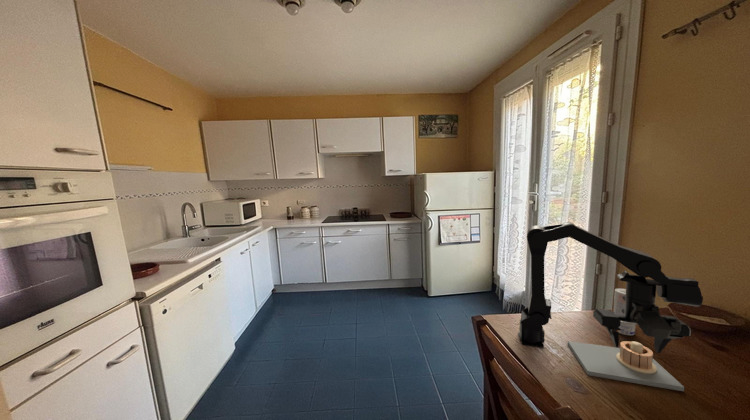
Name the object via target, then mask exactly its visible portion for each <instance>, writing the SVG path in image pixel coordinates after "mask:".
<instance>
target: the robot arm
mask: <svg viewBox="0 0 750 420" xmlns="http://www.w3.org/2000/svg"><path fill="white" fill-rule="evenodd" d="M566 238H567V239H568V238H571V239H572V240H574V241H576V242H578V243H582V244H583V245H586V246H587V247H589V248H592V249H593V250H595V251H597V252H600V253H601V254H603V255H606V256H608V257H610V258H612V259H613V260H615V261H616V262H618V263H620V264H621V265H622V266H624V268H627V270H629V271H631V272H632V273H634V274H631V273H629V272H628V271H627V270H624V271H623V272H621V273H619V274H616V277H617V279H619V281H620V282H626V283H625V285H626V286H625V289H626V296H623V300H625V309H622V313H623V314H624V316H621V315H615V314H614V313H613V312H614V311H612V310H611V309H603V308H596V309H594V310H593V311H592V312H593V314H592V317H593V318H594V319H595V320H596V321H597V322H598V323H599V324H600V325H601V326H602V327H605V328H606V330H607V331H608V334H609V336H610V339H611V341H612V344H613V347H616V348H619V345H620V338H619V337H620V335H619V334H620V333H619V332H620V331H621V329H620V328H619V326H620V325H621V323H629V324H635V325H637V326H638V327H639V328H640V329H641V332H642V333H643V334H644V335H645V336H647V337H648V338H649V337H651V338H653V341H654V343H653V345H654V350H655V352H656V354H661V353H662V352H663V350H664V349H665V348H666V346H667V345H668V344H669V343H670V342H671V341H672V340H675V339H684V337H690V336H691V334H692V333H691V332H692V329H691V328H690V326H689V324H687V323H685V322H684V321H683V320H680V319H679V318H678V317H675V316H673V315H662V314H660V309H659V307H660V306H658V305H656V295H657V296H658V298H661V299H662V300H663V302H666V303H672V304H678V305H685V306H692V307H697V308H698V307H701V306H702V304H703V301H704V297H703V295H702V292H701V291H702V290H701V288H700V286H699V281H697V280H696V279H695V278H681V277H673V276H667V275H666V274H665V273H664V272H663V271H662V265H661V262H659V261H660V260H658V259H656V258H655V257H653V256H652V255H650V254H649V253H648V252H647V253H646V252H644V251H642V250H641V251H640V250H639V249H638V250H637V249H634V248H630V247H627V246H623V245H619V244H617V243H614V242H612V241H610V240H608V239H605V238H604V237H601V236H599V235H597V234H595V233H593V232H590V231H588V230H586V229H584V228H582V227H579V226H577V225H576V224H574V223H572V222H570V221H569V222H565V223H560V224H559V223H558V224H552V225H546V226H542V225H532V226H530V227H529V229H527V235H526V241H527V244H528V248H529V253H530V256H531V258H530V259H531V263H530V264H531V265H530V266H531V271H530V272H531V273H530V274H531V294H530V296H529V302H528V305H527V307H525V308H524V309H521V314H520V319H519V332H517V334H518V338H519V340H520V343H521V344H522V345H523V346H530V347H531V346H532V347H537V348H545V345H544V343H545V330H544V327H543V326H545V325H548V324H549V321H550V320H552V319H553V318H552V301H551V299H550V298H546V296H545V256H546V252H547V251H546V250H547V248H548V243H550V242H556V241H558V240H562V239H566ZM649 278H650V279H649Z"/></svg>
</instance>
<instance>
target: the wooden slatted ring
mask: <svg viewBox="0 0 750 420" xmlns="http://www.w3.org/2000/svg"><path fill="white" fill-rule="evenodd" d="M631 342H632V341H629V340H628V341H627V340H625V341H621V342H620V343H619V345H620V346H619V348H620V358H621V359H622V361H624V362H625V363H627V364H629V365H631V366H633V367H636V368H639V369H645V370H649V369H652V360H653V359H654V358H653V357H654V352H653V351H652V350H651V349H650V348H649V347H646V346H644V345H643V354H642V353H637V352H634V351H632V350H630V348H631Z"/></svg>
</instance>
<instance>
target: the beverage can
mask: <svg viewBox="0 0 750 420" xmlns="http://www.w3.org/2000/svg"><path fill="white" fill-rule="evenodd" d="M613 296H614V297H613V311H612V312H613V313H614V314H615V315H621V316H624V314H623V313H622V309H625V300H623V296H626V288H614V295H613ZM619 328H620V329H621V331H620V332H619V334H621V335H623V336H634V335H635V334H636V324H629V323H621V325H620V326H619Z"/></svg>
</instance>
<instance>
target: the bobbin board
mask: <svg viewBox="0 0 750 420" xmlns="http://www.w3.org/2000/svg"><path fill="white" fill-rule="evenodd" d="M630 342H631V348H630V350H632V351H634V352H637V353H642V354H643V346H644V345H643V344H642V343H640V342H638V341H630ZM567 346H568V347H569V349H570V350H571V352H572V354H573V355H574V356H575V359H577V361H578V362H579V364H580V366H581V367H582V369H583V370H584V372H585V373H586V374H587V376H591V377H596V378H603V379H609V380H615V381H619V382H620V381H621V382H626V383H633V384H638V385H642V386H643V385H645V386H650V387H655V388H660V389H668V390H673V391H678V392H679V391H680V392H685V386H684V385H682V383H681V382H680V381H679V380H677V379H676V378H675V377H674V376H673V375H672V374H671V373H670V372H668V371H667V370H666V369H665V368H664V367H663V366H662V365H661V364H660V363H658V361H656V360H655V359H654V358H653V360H652V369H649V370H645V369H639V368H636V367H633V366H631V365H629V364H627V363H625V362H624V361H622V359H621V358H620V347H618V348H616V347H615V346H609V345H600V344H593V343H586V342H578V341H571V340H567Z"/></svg>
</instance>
